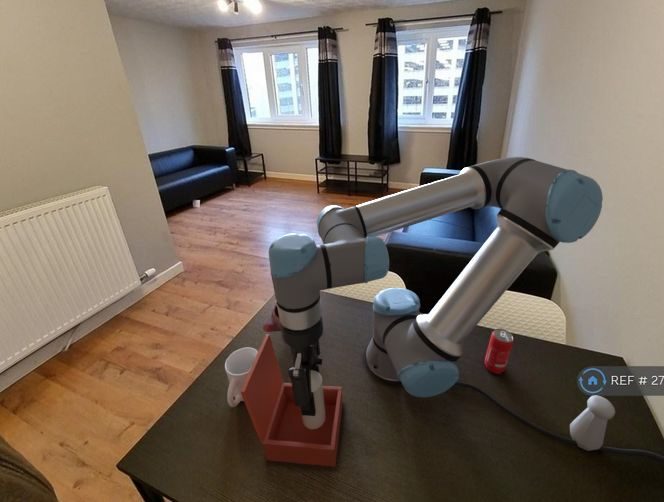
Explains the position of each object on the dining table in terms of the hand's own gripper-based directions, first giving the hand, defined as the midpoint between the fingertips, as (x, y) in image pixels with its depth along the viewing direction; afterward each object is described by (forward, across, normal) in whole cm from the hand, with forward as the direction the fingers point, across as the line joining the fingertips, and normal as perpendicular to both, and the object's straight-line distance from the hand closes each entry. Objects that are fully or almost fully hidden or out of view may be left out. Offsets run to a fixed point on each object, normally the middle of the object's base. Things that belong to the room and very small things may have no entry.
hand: (311, 399), depth 64 cm
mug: (+11, -8, -20) cm, 24 cm away
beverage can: (+12, -21, +46) cm, 52 cm away
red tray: (+11, 0, -2) cm, 12 cm away
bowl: (+12, -31, -14) cm, 36 cm away
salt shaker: (+12, -3, +59) cm, 60 cm away
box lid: (-4, 0, -9) cm, 10 cm away
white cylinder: (+6, 0, 0) cm, 6 cm away
